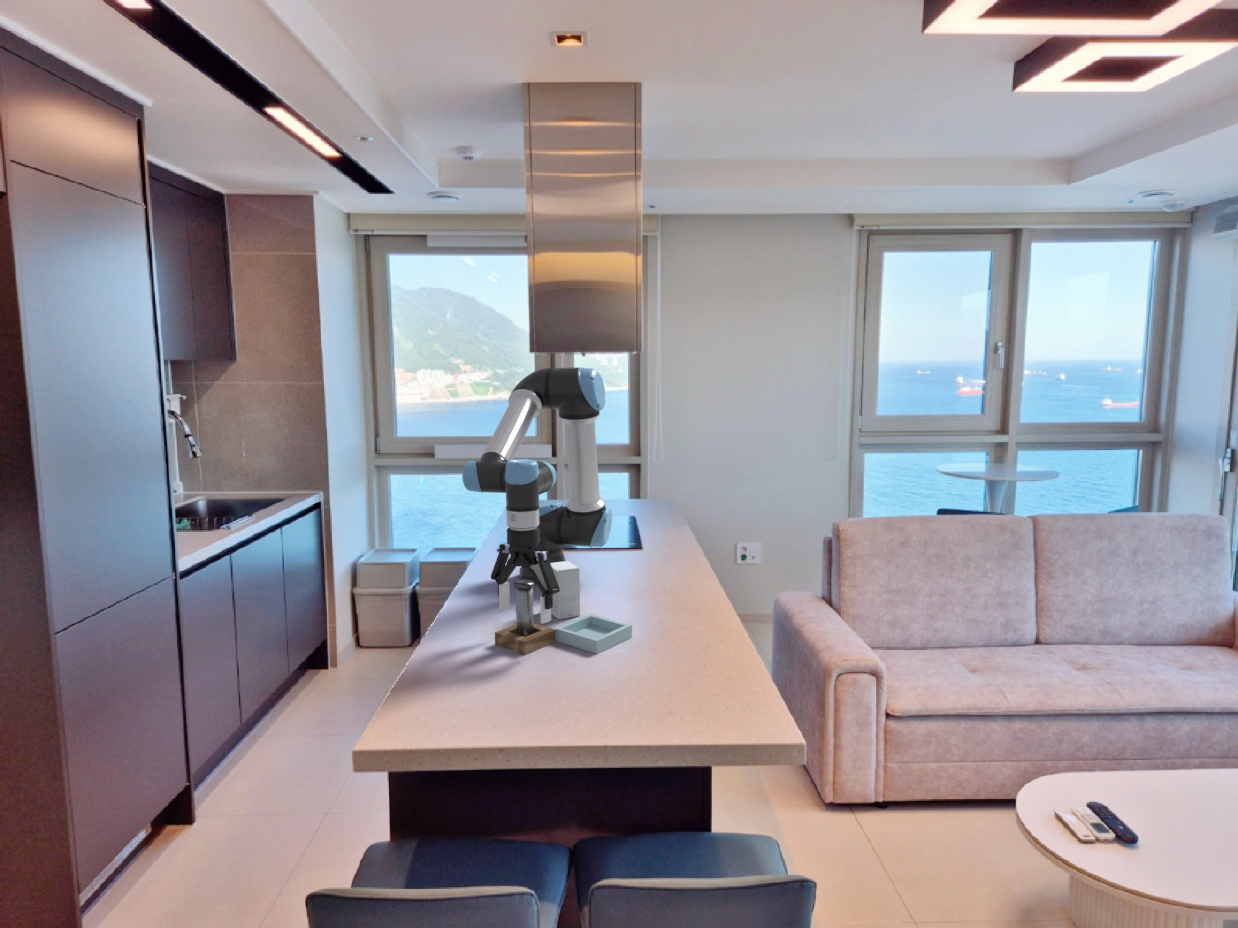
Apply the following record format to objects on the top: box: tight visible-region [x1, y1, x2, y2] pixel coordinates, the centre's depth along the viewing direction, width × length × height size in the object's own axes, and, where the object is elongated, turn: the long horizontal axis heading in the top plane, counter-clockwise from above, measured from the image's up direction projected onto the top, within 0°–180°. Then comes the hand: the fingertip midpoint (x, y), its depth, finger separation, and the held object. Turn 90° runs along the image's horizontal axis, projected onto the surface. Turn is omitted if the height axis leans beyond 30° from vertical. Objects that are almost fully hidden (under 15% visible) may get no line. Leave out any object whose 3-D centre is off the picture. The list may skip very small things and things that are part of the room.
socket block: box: [494, 623, 556, 656], centre depth 177 cm, size 10×10×3 cm
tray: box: [554, 613, 633, 655], centre depth 180 cm, size 13×13×3 cm
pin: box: [513, 579, 536, 637], centre depth 177 cm, size 5×5×15 cm
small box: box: [546, 560, 581, 620], centre depth 197 cm, size 8×6×13 cm
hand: (524, 615), depth 177 cm, fingers open, 13 cm apart
